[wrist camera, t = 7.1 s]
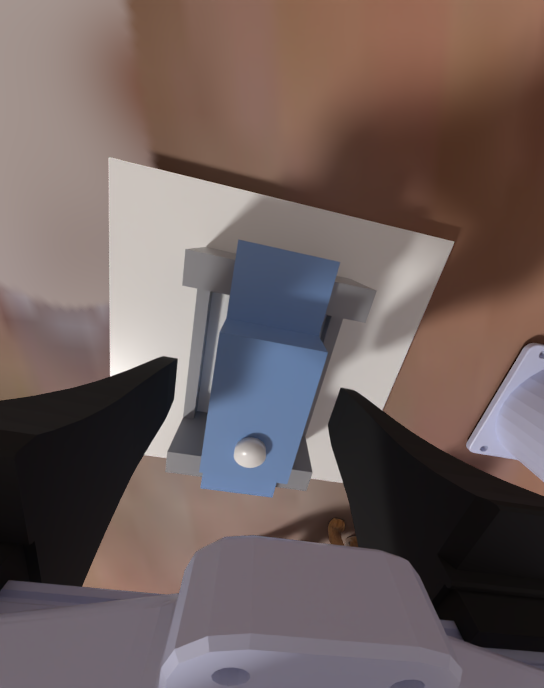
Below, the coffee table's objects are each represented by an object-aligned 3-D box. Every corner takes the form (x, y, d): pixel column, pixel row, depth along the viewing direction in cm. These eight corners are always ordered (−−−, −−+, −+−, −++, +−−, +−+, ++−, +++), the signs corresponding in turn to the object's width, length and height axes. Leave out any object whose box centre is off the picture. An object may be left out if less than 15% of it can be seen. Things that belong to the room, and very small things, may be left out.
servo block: (321, 256, 12) (357, 267, 8) (270, 448, 17) (273, 536, 12) (245, 239, 12) (231, 239, 7) (213, 439, 16) (190, 527, 11)
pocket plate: (444, 241, 13) (517, 242, 10) (347, 474, 19) (368, 534, 15) (118, 162, 12) (46, 123, 8) (117, 441, 18) (74, 499, 14)
